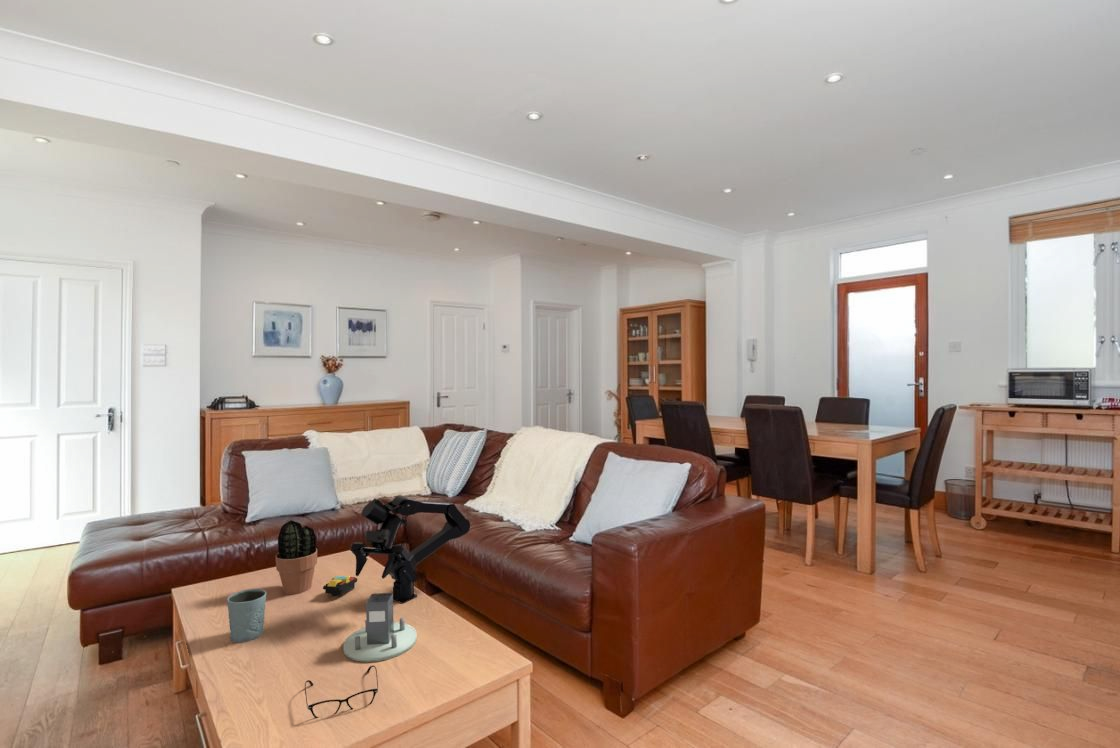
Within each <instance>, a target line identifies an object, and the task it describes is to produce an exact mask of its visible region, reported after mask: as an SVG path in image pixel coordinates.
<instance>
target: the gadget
mask: <svg viewBox="0 0 1120 748" xmlns="http://www.w3.org/2000/svg"><path fill="white" fill-rule="evenodd" d="M357 582H358V578H357V577H355V576H351V575H350V574H348V575H347V574H345V575H342V576H334V577H332V578H331V580H330V581H329V582H328V583H326V584H324V585H323V586H322V590H324V591H325V592H324V594H327V595H330V596H331V597H341V596H343V595H344V594H345V593H348V592H349V591H351V590H355V584H356V583H357Z"/></svg>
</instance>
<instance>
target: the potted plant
mask: <svg viewBox="0 0 1120 748" xmlns="http://www.w3.org/2000/svg"><path fill="white" fill-rule="evenodd" d="M277 549H278V550H277V551H278V552H277V553H276V554H275V566H276V567H275V568H276V571H277V572H278V574H279V577H280V581H281V585H282V590H283V592H284V593H285V594H288V595H297V594H301V593H305V592H306V591H308V590H310V589H311V588H312V584H313V579H314V572H315V567H316V565H317V564H318V548H317V536H316V533H315V531H314V528H312V527H310V526H308V525H305V526H303V527H302V524H301V523H300V522H297V521H294V520H292V519H291V520H289V521H287V522H286V523H284V524H282V526H281V527H280V531H279V533H278V537H277Z"/></svg>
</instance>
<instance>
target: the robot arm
mask: <svg viewBox="0 0 1120 748" xmlns="http://www.w3.org/2000/svg"><path fill="white" fill-rule="evenodd" d="M420 513H423V514H424V513H425V514H441V515H442V514H443V517H444V519H445V521H446V522H445V523H444V525H443V527H442V529H441V530H440V531H437V532H436V533H435V534H434V535H432V536H431V537H429V538H428V539H426V540H425V541H424V542H423V543H420V544H419V545H418V546H417V547H416V548H415V547H414V549H413V550H411V551H409V550H407V548H406V547H405V546H404V545H402V544H393V542H396V541H397V537H396V535H397V532H398V530H399V527H401V526H403V525H404V526H405V525H406V524H407V521H406V519H405V516H407V517H408V516H412V515H413V516H414V515H416V514H420ZM399 515H400V516H399ZM361 517H362V518H364V519H365V520H367V521H368V522H370V523H372V524H373V525H376V526H377V525H379V524H380V526H379V528H378V529H376V530H374V531H373V530H366V531H365V536H364V542H360V541H354V542H352V543H351V545H350V547H349V550H350V551H351V553H352V554H353V555H354V556H355V563H356V564H355V576H356V577H359V575H361V573H362V570H363V568H364V567H365V565H366V563H367V561H368V558H367V557H369V554H373V555H374V554H375V555H383V556H384V555H386V556H387V562H386V564H385V566H384V569H383V572H382V575H381V578H382V579H386V577H387V576H390V577H391V579H393V580H394V581H393V587H392V593H393V601H395V602H399V603H401V604H404V603H406V602H409V601H411V600H413V599H415V598H416V597H418V594H417V593H415V583H416V581H417V579H418V575H417V574H416V573H415V572H414V571H415V569H416V567H417V565H418V564H419V563H420V562H422V561H423V560H424V559H426V558H427V557H429V556H431V554H433V553H435V552H436V551H437V550H438V549H440V548H441V547H442V546H443V545H445V544H446V543H448V542H449V541H451V540H455V539H459V538H462V537H463V536H465V535H467V534H468V533H469V532H470V531H471V530H470V529H471V522H470V520H469V519H468V518H466V517H465V515H464V514H463V513H461V511H460V510H459V509H458V508H457V506H456V504H455V503H453V502H449V501H433V500H432V501H431V500H418V499H414V498H412V497H411V498H410V497H407V496H403V495H396V496H395V498H393V499H392V500H390V501H388V502H387V503H382V502H381V501H380V500H379V499H377V498H374V497H373V499H372V500H371V501H370V502H368V503H367V504H366V505H364V507H363V508H362V510H361ZM365 542H369V543H368V544H369V545H370V546H368V545H366V543H365Z"/></svg>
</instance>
